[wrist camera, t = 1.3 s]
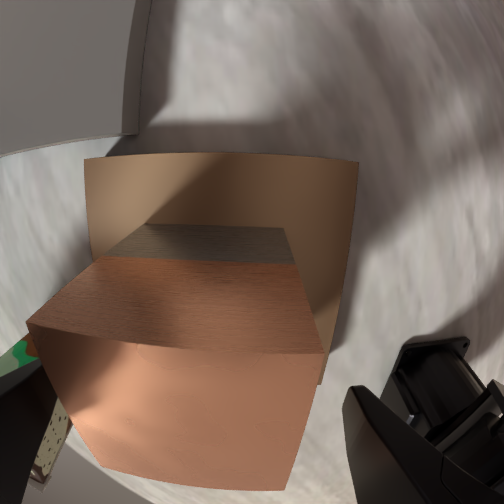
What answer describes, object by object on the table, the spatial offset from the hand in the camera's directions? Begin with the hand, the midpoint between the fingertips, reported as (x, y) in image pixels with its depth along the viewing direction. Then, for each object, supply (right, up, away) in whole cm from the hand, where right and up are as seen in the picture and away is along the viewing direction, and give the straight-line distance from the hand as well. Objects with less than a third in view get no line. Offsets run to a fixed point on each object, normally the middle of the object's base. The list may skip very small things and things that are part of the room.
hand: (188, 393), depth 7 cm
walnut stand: (0, +3, +8) cm, 8 cm away
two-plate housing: (0, +2, +6) cm, 6 cm away
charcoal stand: (-11, +16, +3) cm, 20 cm away
